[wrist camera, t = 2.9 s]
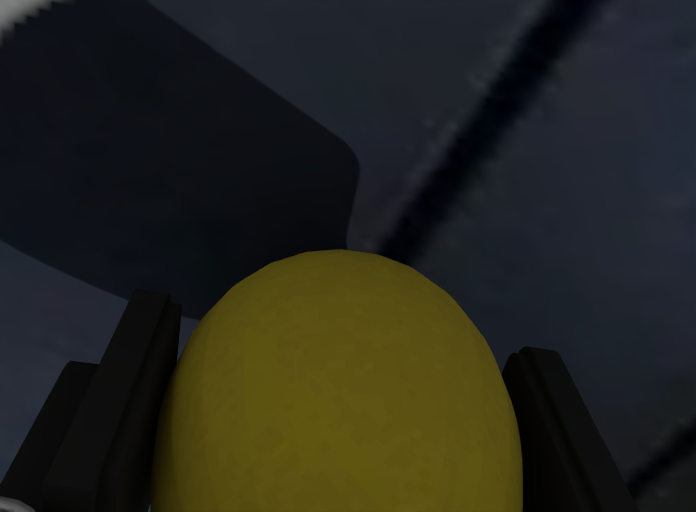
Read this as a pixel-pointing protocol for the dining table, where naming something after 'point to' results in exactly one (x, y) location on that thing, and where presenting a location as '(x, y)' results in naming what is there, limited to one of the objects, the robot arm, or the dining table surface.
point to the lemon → (336, 399)
